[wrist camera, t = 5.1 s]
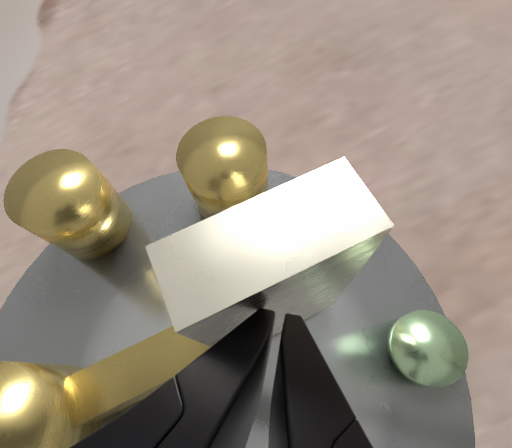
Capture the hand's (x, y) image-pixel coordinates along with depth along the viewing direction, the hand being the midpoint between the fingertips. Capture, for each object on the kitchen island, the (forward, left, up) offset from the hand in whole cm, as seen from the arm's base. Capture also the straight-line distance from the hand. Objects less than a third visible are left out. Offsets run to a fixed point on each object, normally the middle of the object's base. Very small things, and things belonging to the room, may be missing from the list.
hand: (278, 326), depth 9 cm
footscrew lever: (-2, +5, -7) cm, 8 cm away
